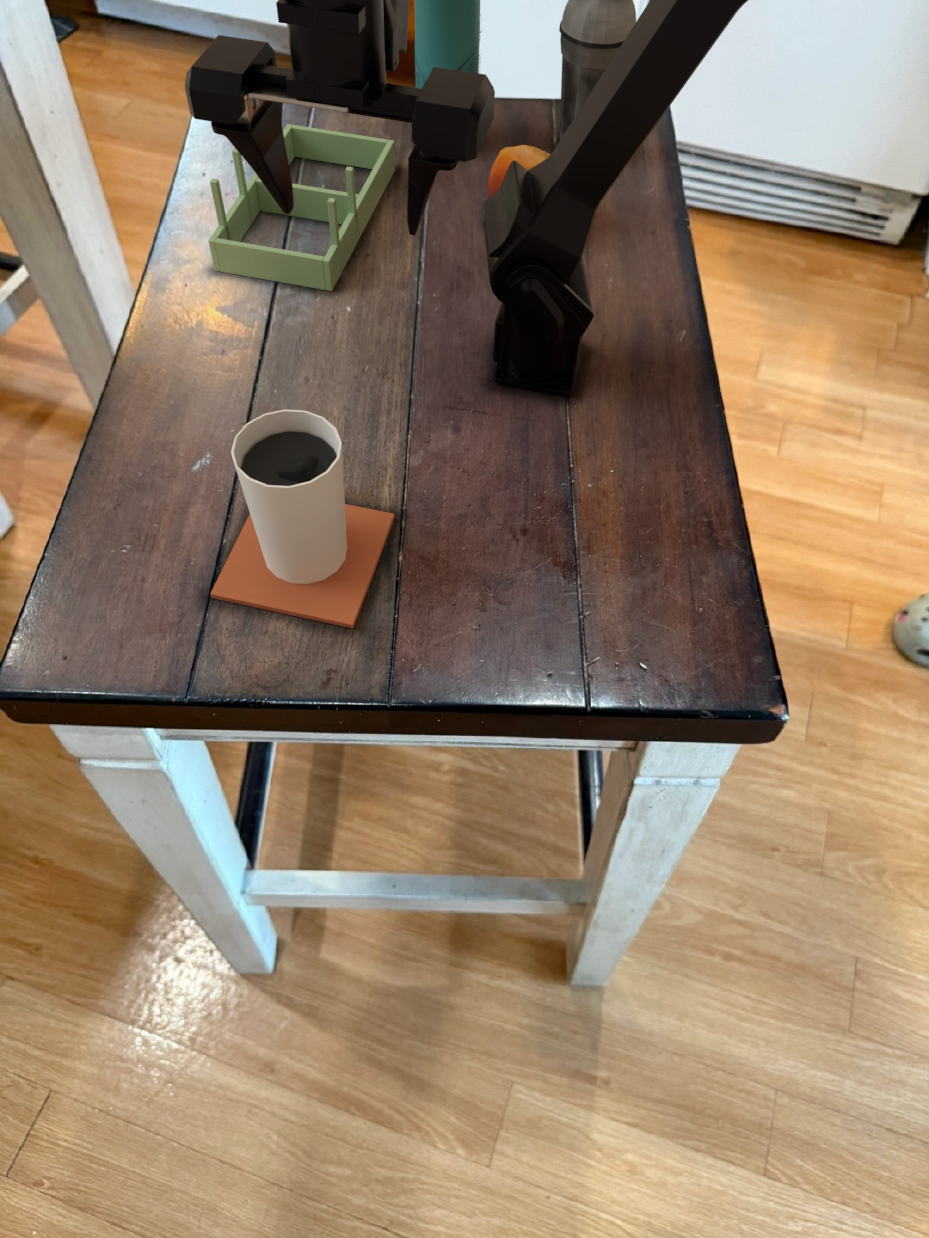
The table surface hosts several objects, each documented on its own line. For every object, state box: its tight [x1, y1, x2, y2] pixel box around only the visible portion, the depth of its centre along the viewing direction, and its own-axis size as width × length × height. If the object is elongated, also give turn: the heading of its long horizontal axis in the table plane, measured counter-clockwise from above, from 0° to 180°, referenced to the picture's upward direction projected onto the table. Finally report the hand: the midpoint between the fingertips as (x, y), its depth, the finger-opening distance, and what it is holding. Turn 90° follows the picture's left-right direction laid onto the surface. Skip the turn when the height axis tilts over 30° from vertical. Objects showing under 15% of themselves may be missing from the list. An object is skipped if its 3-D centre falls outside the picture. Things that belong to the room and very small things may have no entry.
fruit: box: [487, 144, 551, 198], centre depth 86 cm, size 8×8×8 cm
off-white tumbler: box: [230, 409, 347, 584], centre depth 60 cm, size 7×7×10 cm
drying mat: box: [210, 503, 396, 630], centre depth 64 cm, size 10×10×1 cm
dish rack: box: [208, 123, 396, 292], centre depth 85 cm, size 11×20×7 cm, turn 167°
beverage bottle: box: [412, 0, 483, 89], centre depth 88 cm, size 6×7×20 cm
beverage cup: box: [558, 0, 637, 141], centre depth 87 cm, size 7×7×20 cm
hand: (351, 221), depth 65 cm, fingers open, 9 cm apart
